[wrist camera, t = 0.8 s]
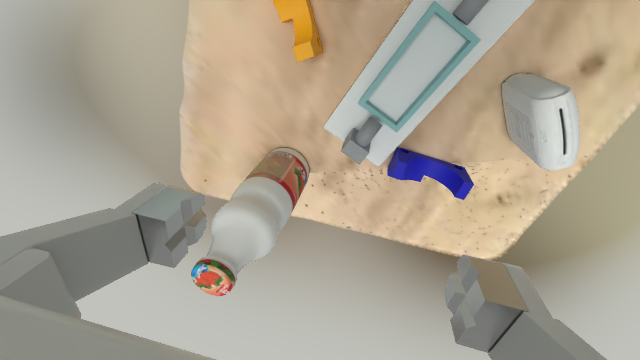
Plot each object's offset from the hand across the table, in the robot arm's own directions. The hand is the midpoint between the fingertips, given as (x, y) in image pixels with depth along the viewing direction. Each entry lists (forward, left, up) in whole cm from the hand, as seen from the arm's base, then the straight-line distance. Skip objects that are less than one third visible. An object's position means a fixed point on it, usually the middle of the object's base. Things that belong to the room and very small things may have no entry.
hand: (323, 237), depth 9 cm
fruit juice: (+24, -2, -39) cm, 46 cm away
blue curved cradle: (+8, +18, -40) cm, 44 cm away
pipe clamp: (+1, -14, -40) cm, 42 cm away
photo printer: (-8, +21, -39) cm, 45 cm away
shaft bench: (-3, +5, -39) cm, 40 cm away
